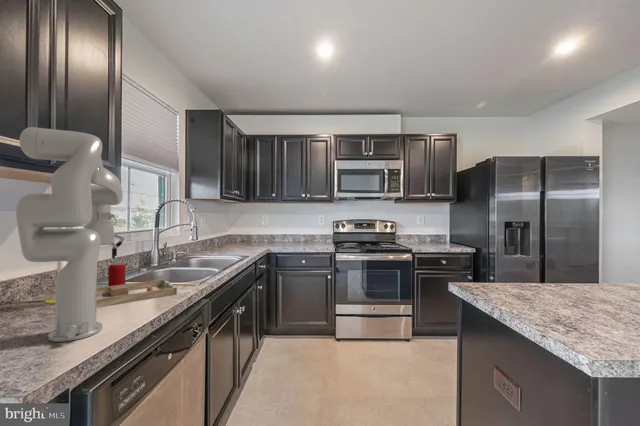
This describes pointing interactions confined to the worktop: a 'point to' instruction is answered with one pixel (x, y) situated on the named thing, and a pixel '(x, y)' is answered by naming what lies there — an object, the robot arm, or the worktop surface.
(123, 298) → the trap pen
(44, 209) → the robot arm
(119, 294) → the block
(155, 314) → the worktop surface
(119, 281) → the beverage can
